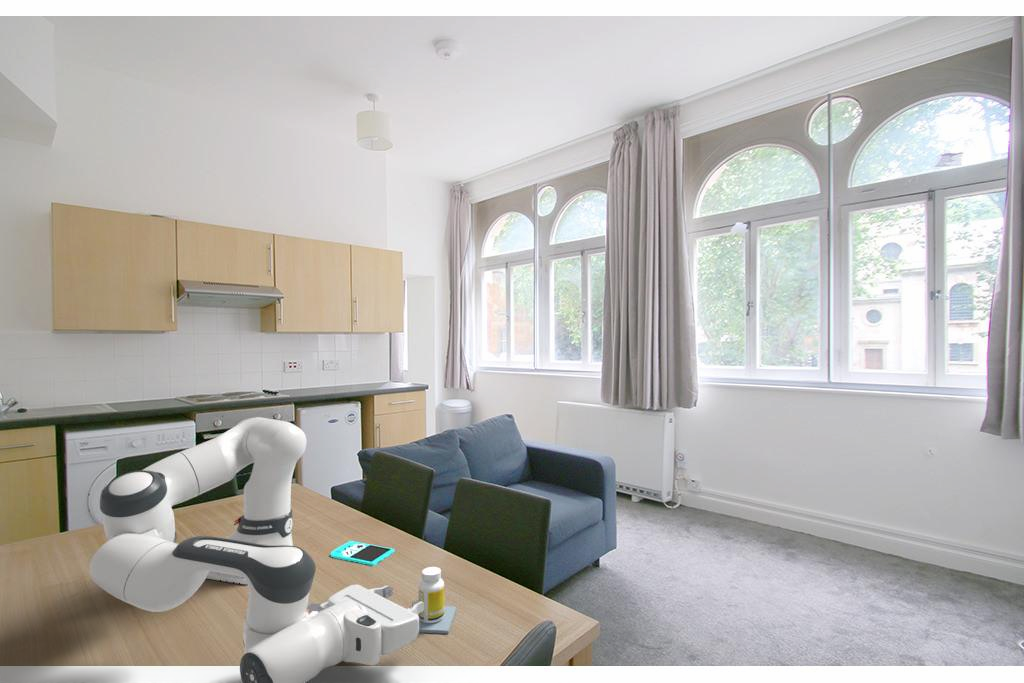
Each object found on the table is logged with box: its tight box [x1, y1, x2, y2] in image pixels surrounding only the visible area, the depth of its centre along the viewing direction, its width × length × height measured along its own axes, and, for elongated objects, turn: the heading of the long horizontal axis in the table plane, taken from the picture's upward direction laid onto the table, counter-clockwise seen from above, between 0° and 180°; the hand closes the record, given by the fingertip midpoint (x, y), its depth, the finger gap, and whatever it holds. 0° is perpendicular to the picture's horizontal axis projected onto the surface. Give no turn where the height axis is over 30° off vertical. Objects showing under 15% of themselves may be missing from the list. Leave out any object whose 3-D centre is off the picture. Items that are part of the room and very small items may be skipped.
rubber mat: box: [417, 605, 458, 634], centre depth 103 cm, size 9×9×1 cm
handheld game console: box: [330, 540, 396, 567], centre depth 135 cm, size 10×16×1 cm, turn 68°
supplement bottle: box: [418, 566, 445, 623], centre depth 103 cm, size 5×5×10 cm
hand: (405, 597), depth 97 cm, fingers open, 8 cm apart
